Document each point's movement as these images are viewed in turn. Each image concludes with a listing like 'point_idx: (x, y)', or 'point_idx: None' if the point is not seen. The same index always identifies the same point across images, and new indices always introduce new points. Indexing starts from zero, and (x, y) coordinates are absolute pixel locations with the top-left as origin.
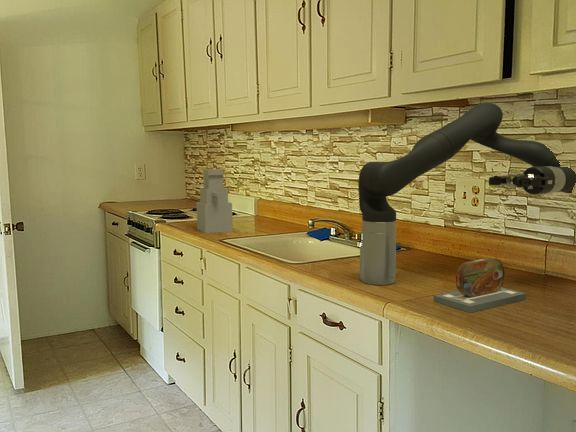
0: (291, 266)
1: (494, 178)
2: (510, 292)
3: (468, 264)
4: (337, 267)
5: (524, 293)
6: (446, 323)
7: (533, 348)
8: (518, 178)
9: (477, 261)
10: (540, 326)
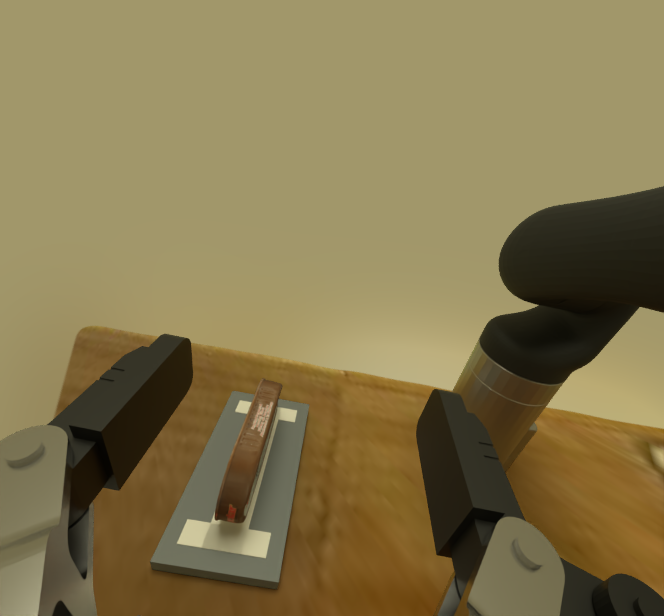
0: (614, 429)
1: (442, 426)
2: (193, 530)
3: (263, 382)
4: (610, 485)
5: (155, 556)
6: (239, 353)
7: (121, 341)
8: (176, 338)
9: (257, 403)
10: None
